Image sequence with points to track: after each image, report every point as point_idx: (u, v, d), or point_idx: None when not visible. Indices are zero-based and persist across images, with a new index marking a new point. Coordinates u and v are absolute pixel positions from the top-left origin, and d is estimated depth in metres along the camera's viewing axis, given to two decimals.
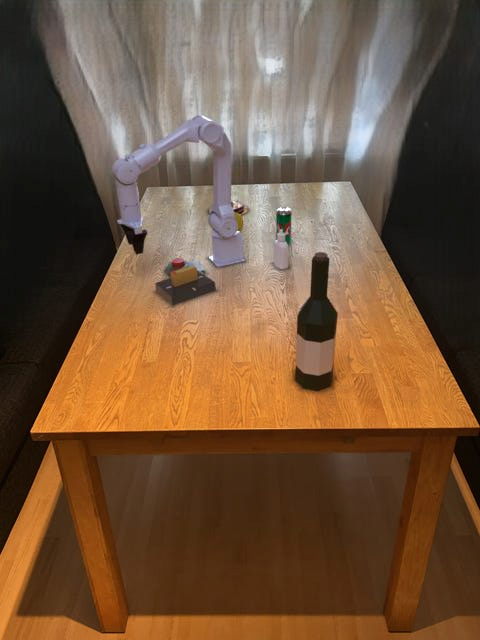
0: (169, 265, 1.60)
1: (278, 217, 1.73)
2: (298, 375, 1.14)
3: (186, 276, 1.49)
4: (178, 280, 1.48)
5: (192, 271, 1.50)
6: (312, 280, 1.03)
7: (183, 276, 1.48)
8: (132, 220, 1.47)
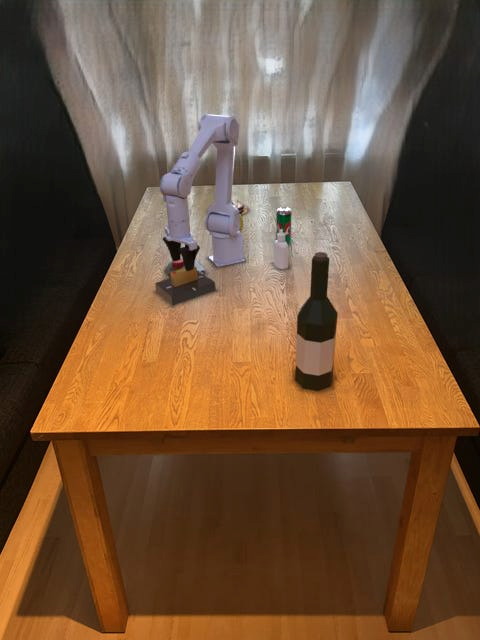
0: (169, 265, 1.60)
1: (278, 217, 1.73)
2: (298, 375, 1.14)
3: (186, 276, 1.49)
4: (178, 280, 1.48)
5: (192, 271, 1.50)
6: (312, 280, 1.03)
7: (183, 276, 1.48)
8: (183, 236, 1.41)
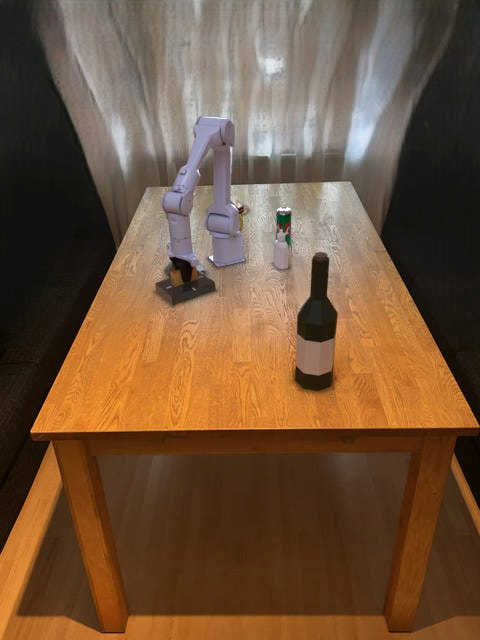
0: (169, 265, 1.60)
1: (278, 217, 1.73)
2: (298, 375, 1.14)
3: None
4: (178, 280, 1.48)
5: (192, 271, 1.50)
6: (312, 280, 1.03)
7: None
8: (185, 252, 1.43)
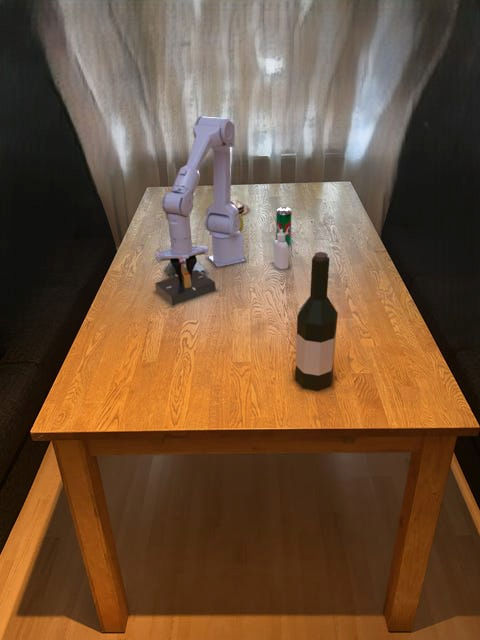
0: (169, 265, 1.60)
1: (278, 217, 1.73)
2: (298, 375, 1.14)
3: None
4: None
5: None
6: (312, 280, 1.03)
7: None
8: (192, 248, 1.46)
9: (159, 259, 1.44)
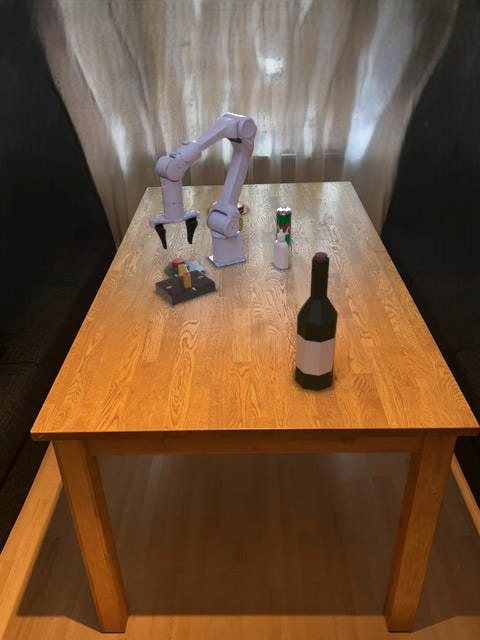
0: (169, 265, 1.60)
1: (278, 217, 1.73)
2: (298, 375, 1.14)
3: None
4: None
5: None
6: (312, 280, 1.03)
7: None
8: None
9: (153, 224, 1.47)
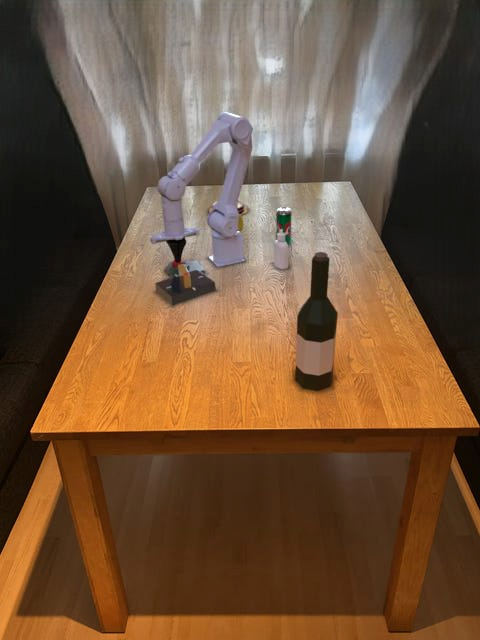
0: (169, 265, 1.60)
1: (278, 217, 1.73)
2: (298, 375, 1.14)
3: None
4: None
5: None
6: (312, 280, 1.03)
7: None
8: (184, 230, 1.56)
9: (154, 241, 1.53)
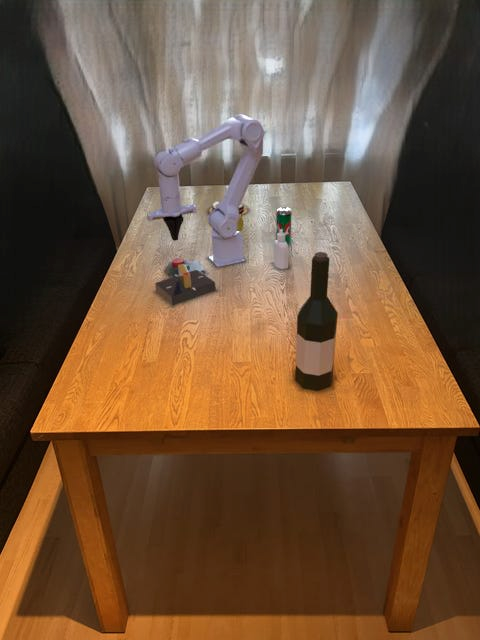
0: (169, 265, 1.60)
1: (278, 217, 1.73)
2: (298, 375, 1.14)
3: None
4: None
5: None
6: (312, 280, 1.03)
7: None
8: (181, 207, 1.54)
9: (151, 218, 1.51)
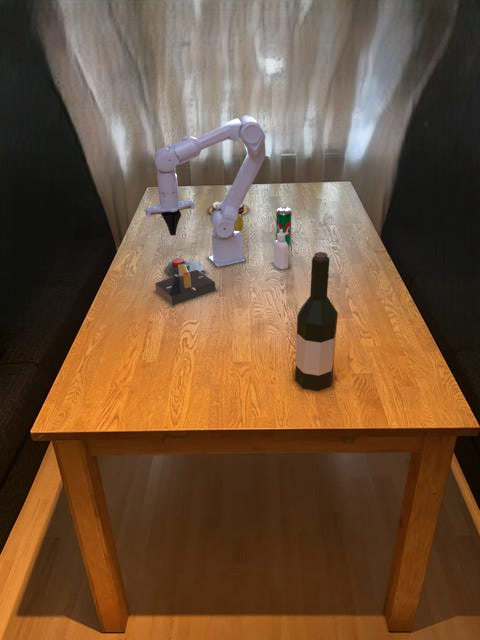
0: (169, 265, 1.60)
1: (278, 217, 1.73)
2: (298, 375, 1.14)
3: None
4: None
5: None
6: (312, 280, 1.03)
7: None
8: (179, 202, 1.57)
9: (149, 213, 1.54)
